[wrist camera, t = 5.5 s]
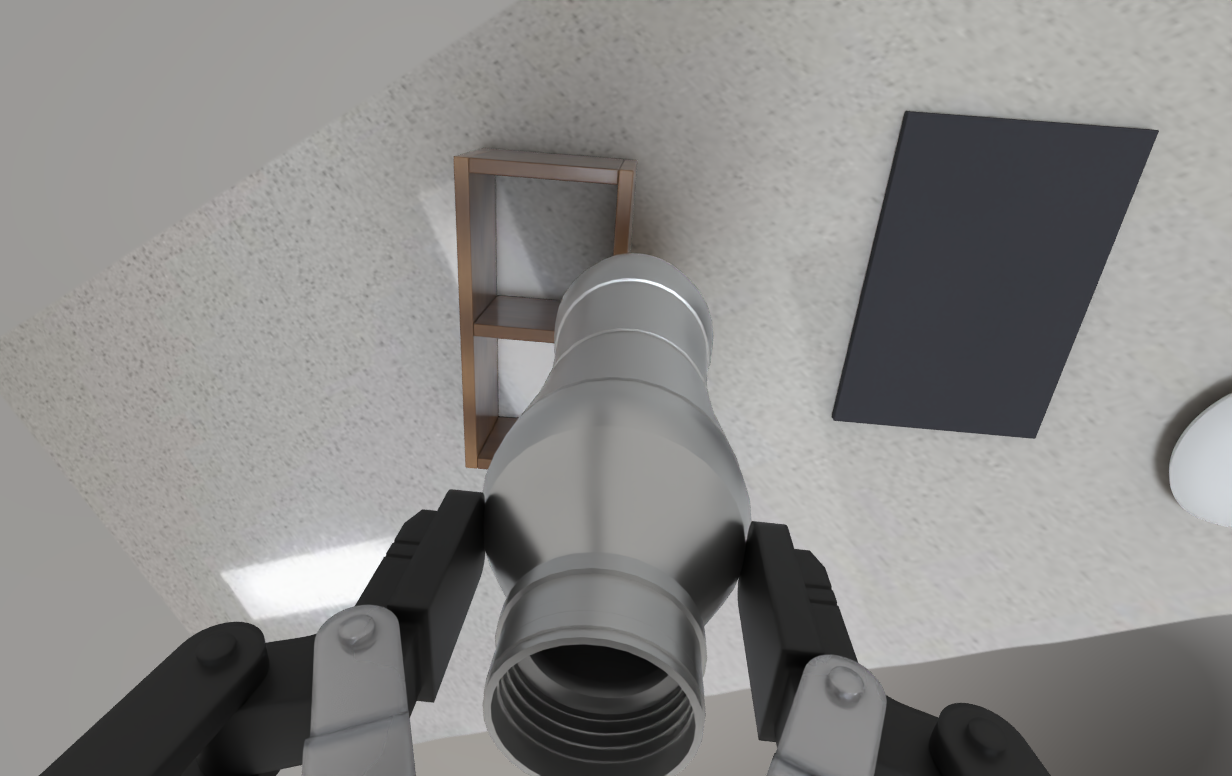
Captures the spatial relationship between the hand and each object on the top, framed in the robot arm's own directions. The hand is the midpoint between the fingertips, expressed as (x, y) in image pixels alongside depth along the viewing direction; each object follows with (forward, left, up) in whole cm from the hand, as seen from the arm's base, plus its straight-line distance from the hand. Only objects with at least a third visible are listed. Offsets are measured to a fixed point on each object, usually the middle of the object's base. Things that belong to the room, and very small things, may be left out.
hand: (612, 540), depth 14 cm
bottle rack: (+4, -6, -30) cm, 30 cm away
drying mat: (+1, +21, -30) cm, 36 cm away
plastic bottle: (0, 0, -16) cm, 16 cm away
